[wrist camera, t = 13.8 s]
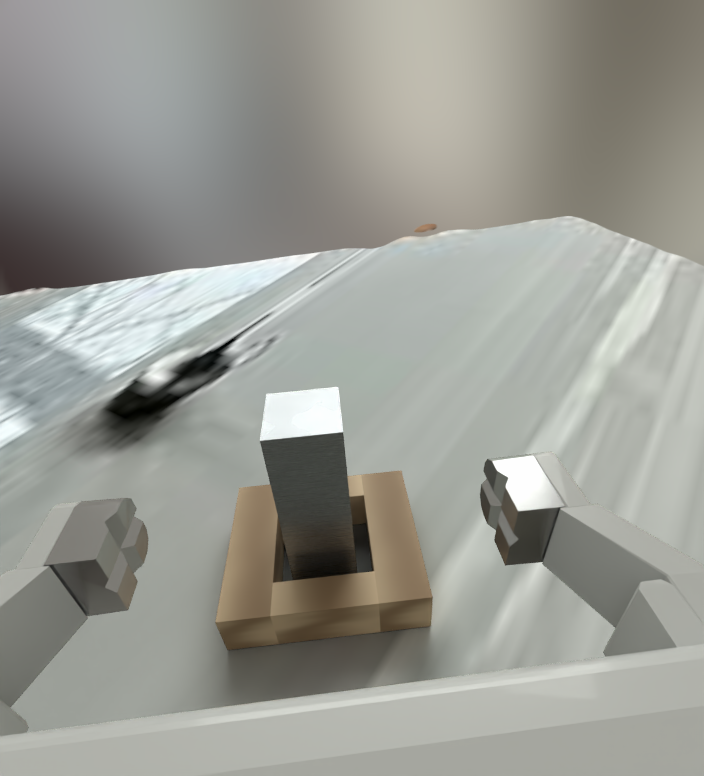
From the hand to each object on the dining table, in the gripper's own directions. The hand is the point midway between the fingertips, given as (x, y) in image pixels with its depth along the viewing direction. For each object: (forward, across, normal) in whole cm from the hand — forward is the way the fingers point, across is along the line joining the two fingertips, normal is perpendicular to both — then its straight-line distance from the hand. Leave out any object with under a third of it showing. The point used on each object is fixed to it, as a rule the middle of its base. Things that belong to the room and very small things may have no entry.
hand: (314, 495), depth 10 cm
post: (+11, -1, -19) cm, 22 cm away
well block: (+11, -1, -19) cm, 22 cm away
